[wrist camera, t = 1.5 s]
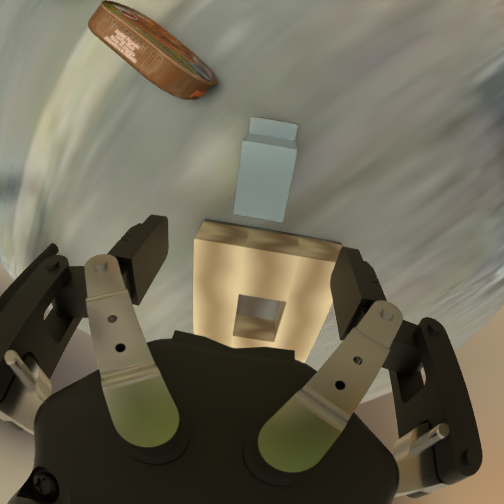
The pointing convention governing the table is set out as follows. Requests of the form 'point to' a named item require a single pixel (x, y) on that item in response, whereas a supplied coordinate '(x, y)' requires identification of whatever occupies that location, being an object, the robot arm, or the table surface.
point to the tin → (151, 50)
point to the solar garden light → (26, 275)
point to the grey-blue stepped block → (266, 169)
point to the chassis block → (261, 286)
